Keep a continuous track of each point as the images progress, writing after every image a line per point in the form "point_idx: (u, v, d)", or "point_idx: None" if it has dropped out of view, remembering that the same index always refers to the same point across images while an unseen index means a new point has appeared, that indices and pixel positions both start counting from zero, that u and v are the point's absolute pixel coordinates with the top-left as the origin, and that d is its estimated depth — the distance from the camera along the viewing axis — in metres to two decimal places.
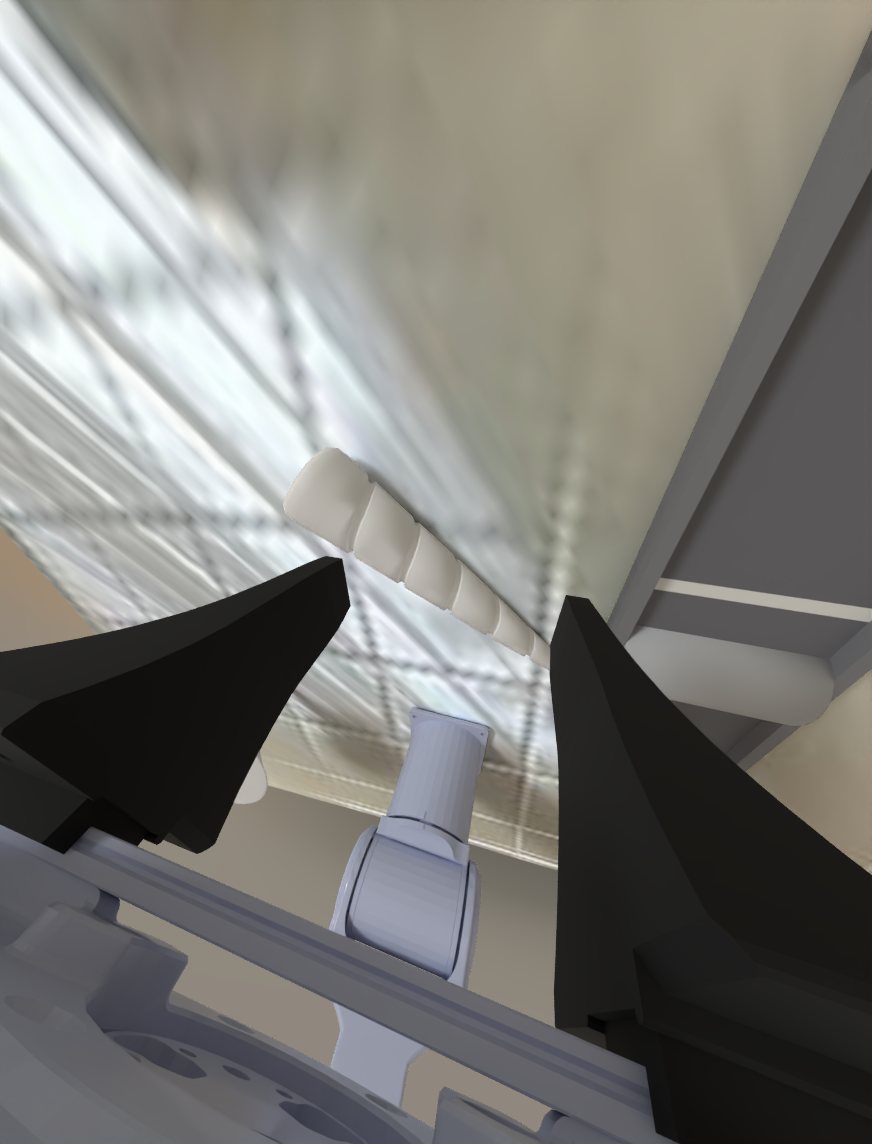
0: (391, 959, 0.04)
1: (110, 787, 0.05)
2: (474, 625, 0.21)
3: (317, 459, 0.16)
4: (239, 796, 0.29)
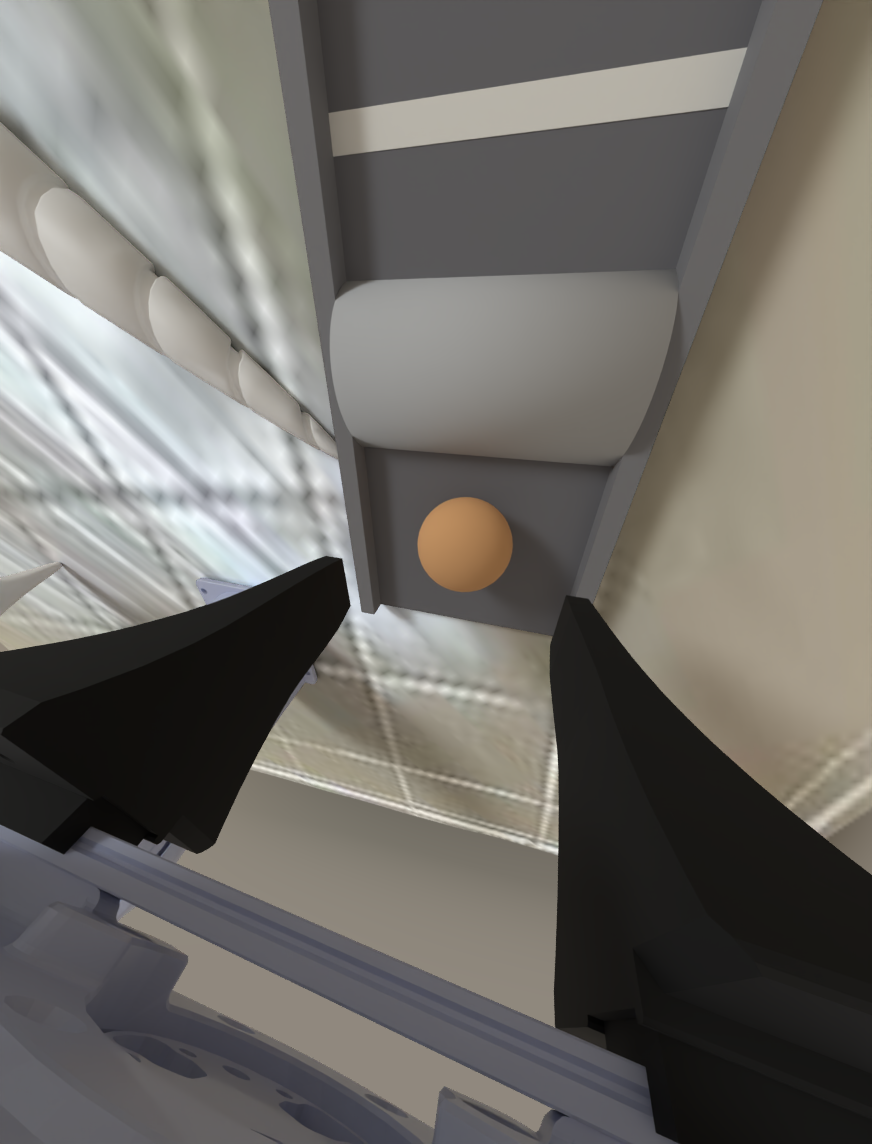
0: (391, 959, 0.04)
1: (110, 788, 0.05)
2: (113, 313, 0.12)
3: None
4: None
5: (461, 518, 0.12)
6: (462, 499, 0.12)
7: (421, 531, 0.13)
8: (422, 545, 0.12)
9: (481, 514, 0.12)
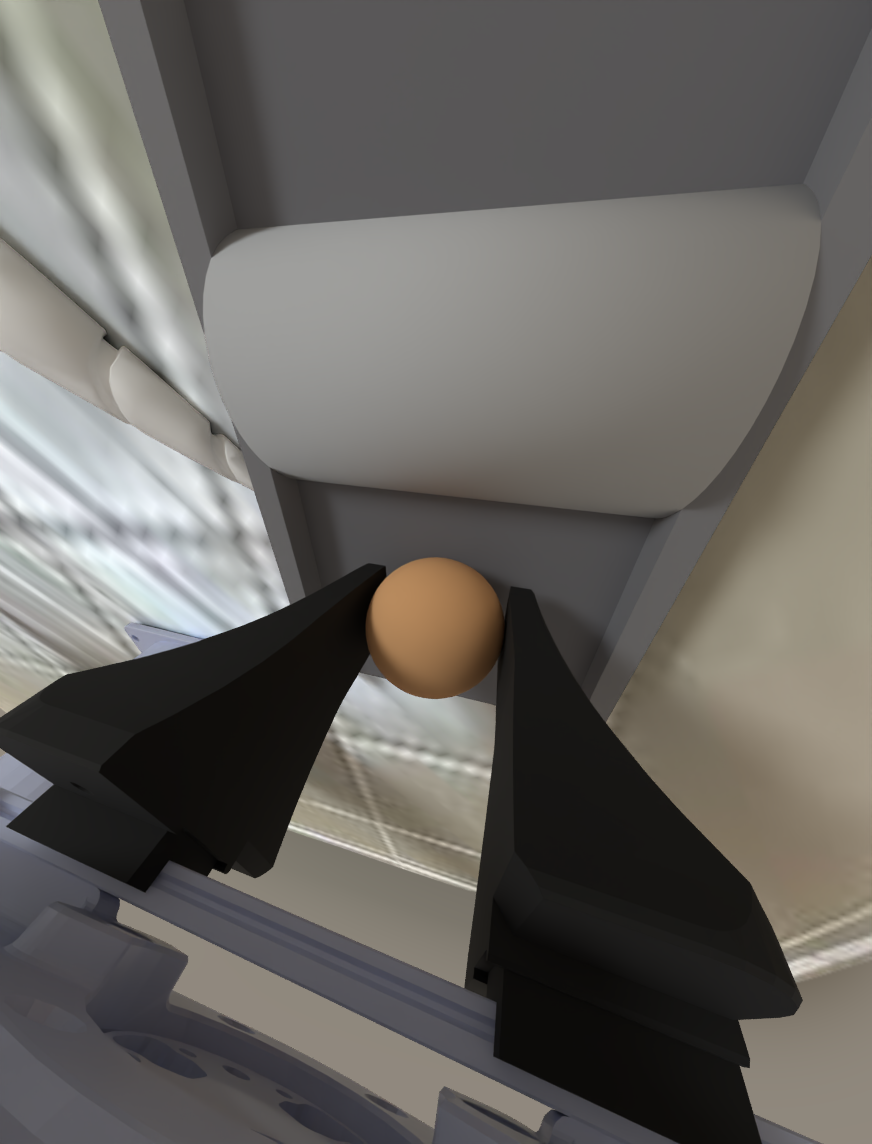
0: (391, 959, 0.04)
1: (191, 819, 0.05)
2: None
3: None
4: None
5: (423, 603, 0.07)
6: (428, 566, 0.08)
7: (368, 611, 0.08)
8: (368, 634, 0.08)
9: (455, 595, 0.08)
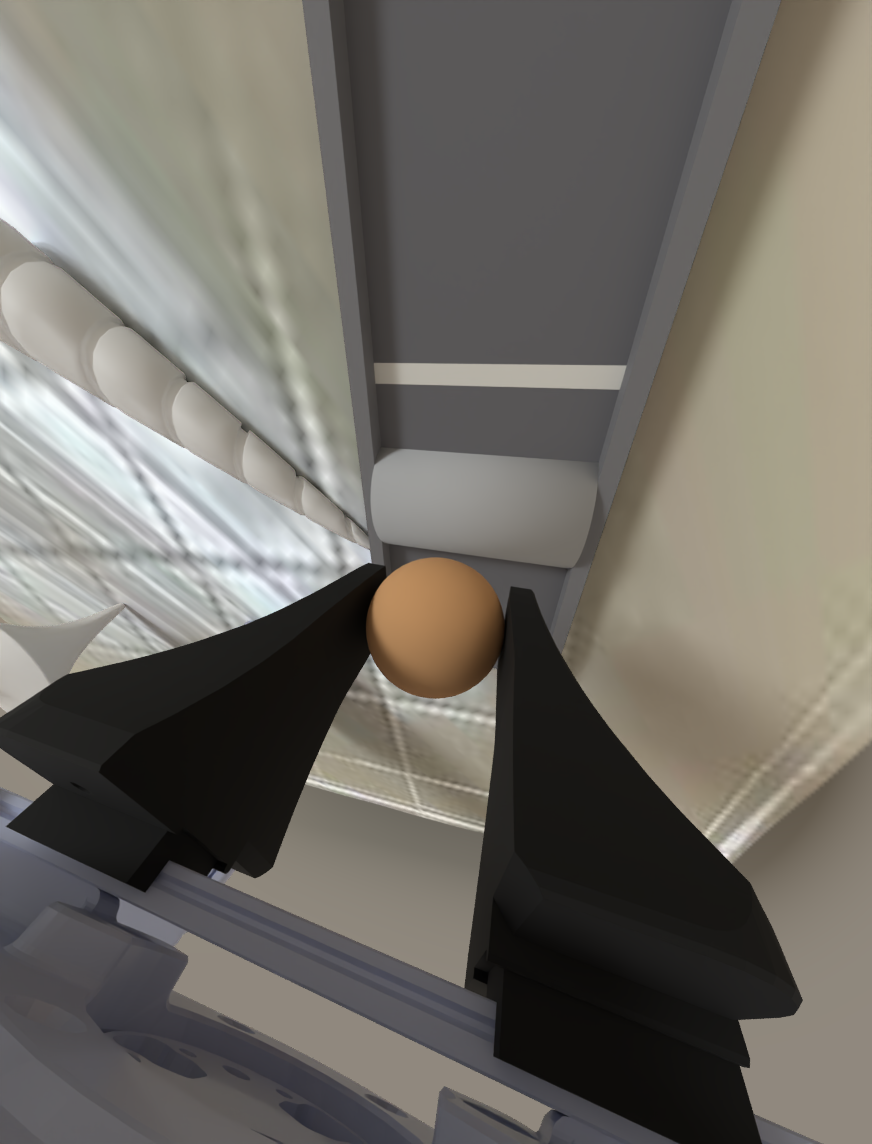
0: (391, 959, 0.04)
1: (190, 819, 0.05)
2: (216, 462, 0.17)
3: None
4: None
5: (423, 603, 0.07)
6: (428, 566, 0.08)
7: (369, 610, 0.09)
8: (368, 633, 0.08)
9: (455, 596, 0.08)
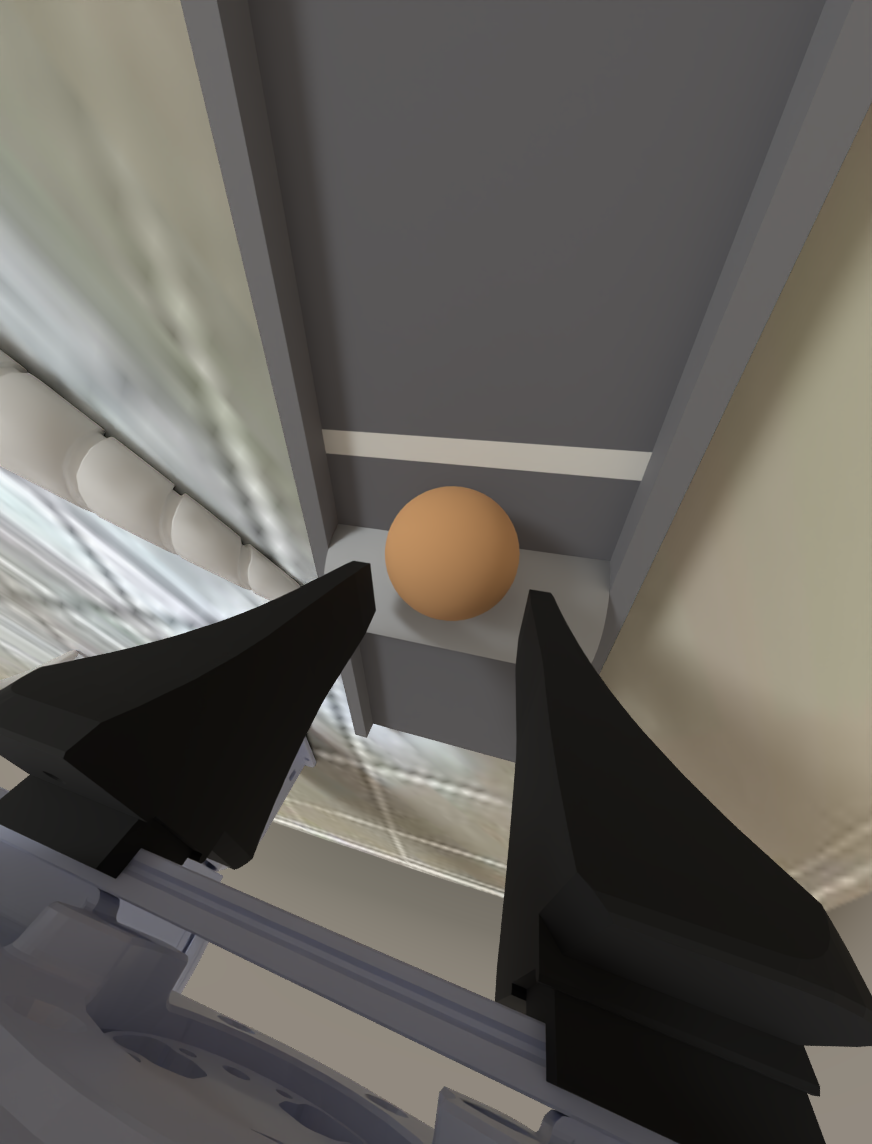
0: (391, 959, 0.04)
1: (162, 807, 0.05)
2: (140, 535, 0.14)
3: None
4: None
5: None
6: None
7: (400, 511, 0.09)
8: (399, 513, 0.09)
9: None
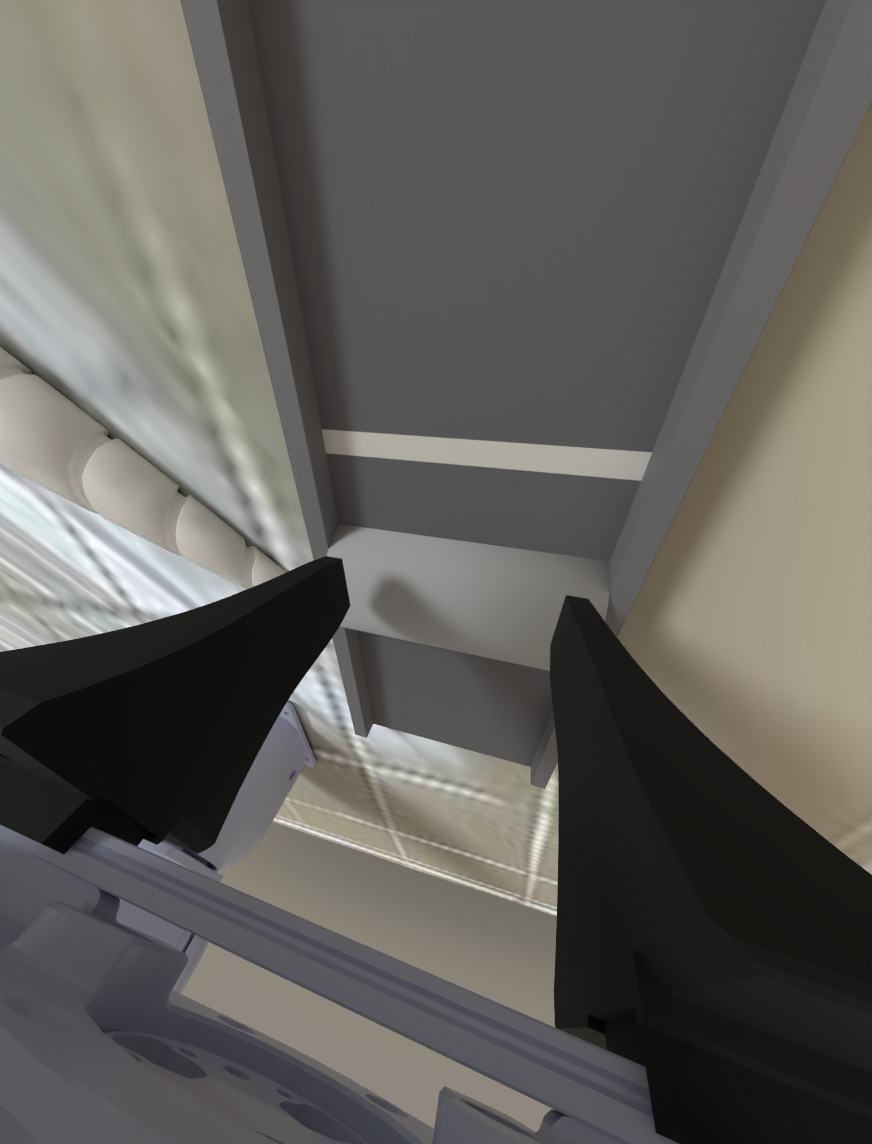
0: (391, 959, 0.04)
1: (111, 787, 0.05)
2: (144, 536, 0.14)
3: None
4: None
5: None
6: None
7: None
8: None
9: None
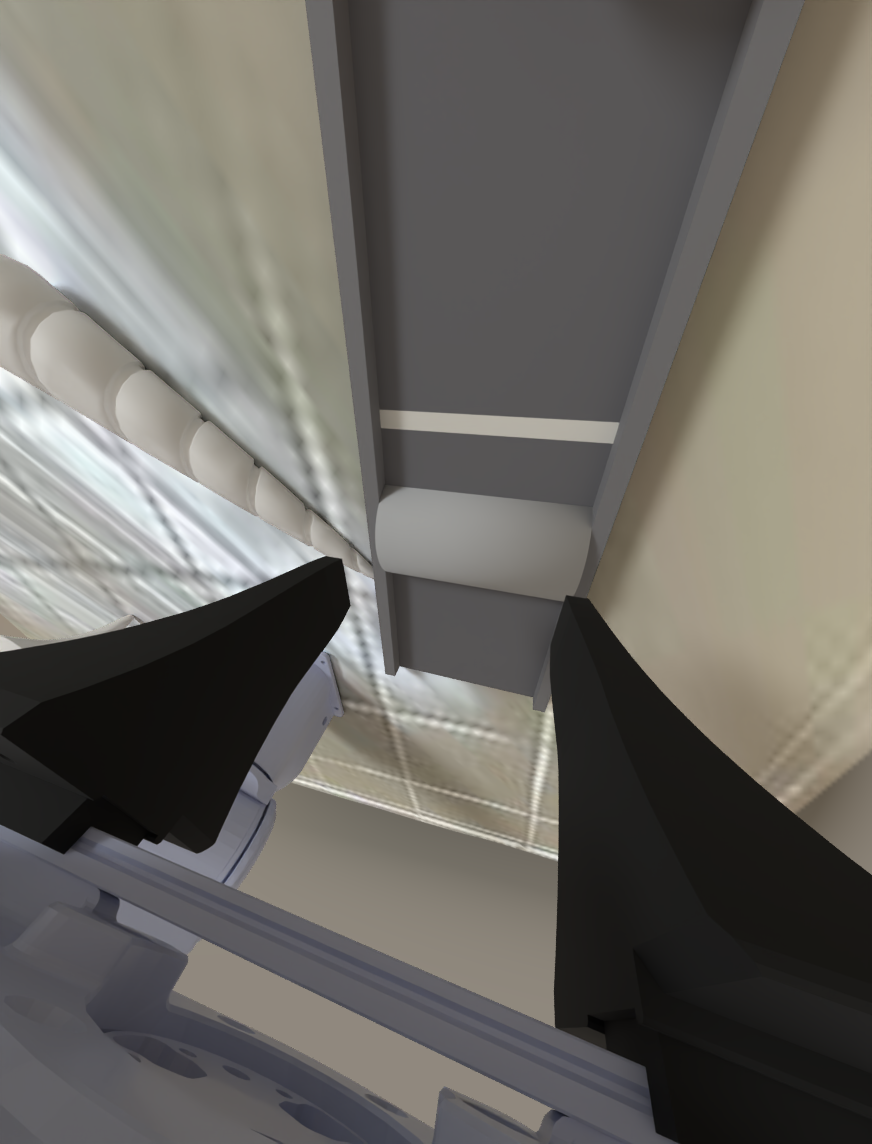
0: (391, 959, 0.04)
1: (110, 788, 0.05)
2: (230, 498, 0.18)
3: None
4: None
5: None
6: None
7: None
8: None
9: None
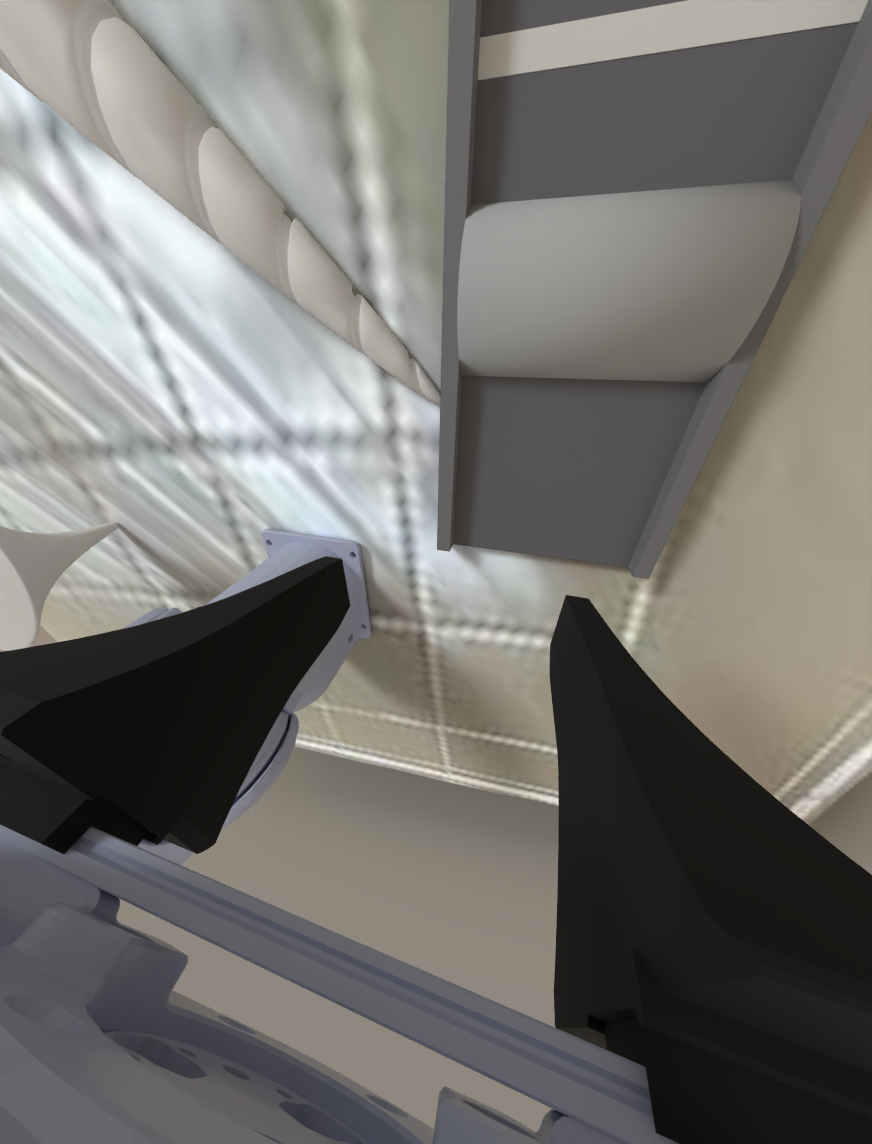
0: (391, 959, 0.04)
1: (110, 788, 0.05)
2: (252, 250, 0.13)
3: None
4: (7, 632, 0.21)
5: None
6: None
7: None
8: None
9: None
